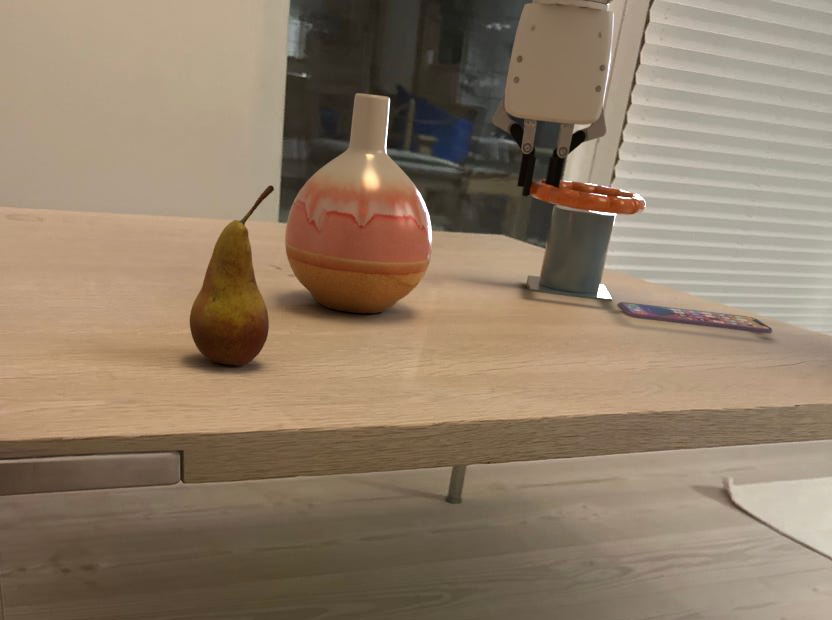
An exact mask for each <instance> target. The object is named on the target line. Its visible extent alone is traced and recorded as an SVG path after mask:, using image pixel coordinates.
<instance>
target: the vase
mask: <svg viewBox="0 0 832 620" xmlns="http://www.w3.org/2000/svg"><path fill="white" fill-rule="evenodd" d="M390 105H391V99H390V97H389V96H385V95H378V94H369V93H359V92H357V93H355V95H354V100H353V109H352V119H351V127H350V128H351V129H350V138H349V143H348V148H347V149H346V150H345V151H343V152H342V153H341V154H339V155H338V156H337V157H334V158H333V159H331V160H330V161H329V162H327V163H326V164H325V165H324V166H322V167H320V168H319V170H317V171H316V172H315V173H313V175H312V176H311V177H310V178H309V179H308V180H307V181H306V182H305V184H304V185H303V186H301V188H300V189H299V191H298V193H297V194H296V197H295V198H294V200H293V201H292V205H291V206H290V210H289V213H288V218H287V221H286V226H285V233H284V237H285V238H284V246H285V253H286V257H287V261H288V263H289V266H290V268H291V270H292V272H293V274H294V276H295V277H296V279H297V280H298V282H299V283H300V284H301V285H302V286H303V287H304V288H305V289H306V290H307V291H308V292H309V294H310V295H311V297H312V298H313V299H314V300H315V302H317V304H319V305H320V306H323V307H325V308H328V309H331V310H333V311H334V310H335V311H340V312H345V313H352V314H377V313H383V312H386V311H388V310H390V309H391V308H393V307H394V306H395V305H396V303H397V302H399V301H401V300H403V298H405V297H406V296H408V295H409V294H410V293H411V292H413V290H414V289H415V288H416V287H417V286H418V285H419V283H420V282H421V281H422V280H423V278H424V276H425V274H426V272H427V270H428V268H429V264H430V262H431V259H432V258H431V257H432V251H433V229H432V222H431V217H430V212H429V210H428V208H427V205H426V204H427V203H426V202H425V200H424V198H423V196H422V194H421V192H420V191H419V189H418V188H417V186H416V184H415V183H414V182H413V181H412V180H411V179H410V177H409V175H408V174H407V173H406V172H405V171H404V170H403V169H402V168H401V167H400V166H399V165H398V164H397V162H395V161H394V160H393V159H392V158H391V157H390V156H389V154H388V153H387V141H388V129H389V116H390Z"/></svg>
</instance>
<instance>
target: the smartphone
mask: <svg viewBox="0 0 832 620" xmlns="http://www.w3.org/2000/svg"><path fill="white" fill-rule="evenodd" d="M617 306H618V307H619V308H620V309H621V310H622V311H623V313H624V314H625V315H626V316H628V317H630V318H634V319H641V320H649V321H658V322H667V323H674V324H683V325H693V326H700V327H710V328H719V329H724V330H725V329H727V330H735V331H744V332H753V333H762V334H772V333H773V328H772V327H770V326H769V325H767V324H765V323H764V322H762V321H760V320H759V319H757V318H755V317H752V316H748V315H747V316H746V315H741V314H740V315H739V314H731V313H723V312H714V311H713V312H712V311H706V310H705V311H704V310H695V309H688V308H687V309H686V308H678V307H670V306H661V305H660V306H659V305H651V304H644V303H634V302H626V301H625V302H624V301H619V302H618V303H617Z"/></svg>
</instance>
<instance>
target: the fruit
mask: <svg viewBox="0 0 832 620" xmlns="http://www.w3.org/2000/svg"><path fill="white" fill-rule="evenodd" d="M274 191H275V188H274V186H273V185H268V186H267V187H266V188H265V189H264V190H263V192H262V193H260V195H259V197H258V198H257V200H256V201H255V202H254V204H253V206H252V207H251V208H250V209H249V210H248V212H247V213H246V214H245V215H244V216H243V218H241V219H240V220H238V219H233V220H232V221H230V223H228V224H227V225H226V226H225V227H224V228H223V229H222V231H221V233H220V235H219V236H218V238H217V240H216V242H215V244H214V247H213V250H212V252H211V253H212V254H211V256H210V259H209V261H208V264H207V268H206V271H205V275H204V279H203V283H202V285H201V288H200V291H199V292H198V294H197V295H196V297H195V298H194V301H193V303H192V306H191V309H190V313H189V330H190V334H191V337H192V340H193V342H194V344H195V347H196V348H197V349H198V351H199V352H200V354H201V355H203V357H205V359H207V360H209V361H210V362H212V363H217V364H223V365H232V366H243V365H246V364H248V363H250V362H251V361H253V360H255V358H256V357H257V356H258V355H259V354H260V353H261V352H262V350H263V348H264V347H265V344H266V342H267V339H268V335H269V329H270V326H269V325H270V321H269V320H270V319H269V313H268V312H269V311H268V308H267V305H266V302H265V300H264V298H263V295H262V293H261V290H260V288H259V287H258V282H257V280H256V275H255V270H254V264H253V252H252V244H251V242H250V237H249V230H248V228H247V226H245V225H246V222H247V221H248V219H250V217H251V216H252V215H253V213H254V212H255V211H256V209H257V208H258V207H259V206H260V204H261V203H262V202H263V201H264V200H265V199H266V198H268V196H269V195H270V194H272V193H273V192H274Z"/></svg>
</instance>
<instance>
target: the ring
mask: <svg viewBox="0 0 832 620" xmlns="http://www.w3.org/2000/svg"><path fill="white" fill-rule="evenodd" d="M545 180H546V178H536V179H532V184H531V188H530V196H531V197H532V198H534V199H536V200H539V201H542V202H545V203H549V204H552V205H561V206H566V207H570V208H575V209H581V210H588V211H594V212H601V213H610V214H616V215H623V216H630V215H636V214H637V215H639V214H641V213H643V212H644V211H645V209H646V207H647V206H646V205H647V204H646V200H645V199H644V198H643V197H642V196H640V194H637V193H634V192H630V191H626V190H623V189H619V188H613V187H609V186H604V185H598V184H594V183H593V184H592V183H586V182H581V181H573V180H563V179H560V184H559V187H555V186H551V185H548V184H545Z"/></svg>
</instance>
